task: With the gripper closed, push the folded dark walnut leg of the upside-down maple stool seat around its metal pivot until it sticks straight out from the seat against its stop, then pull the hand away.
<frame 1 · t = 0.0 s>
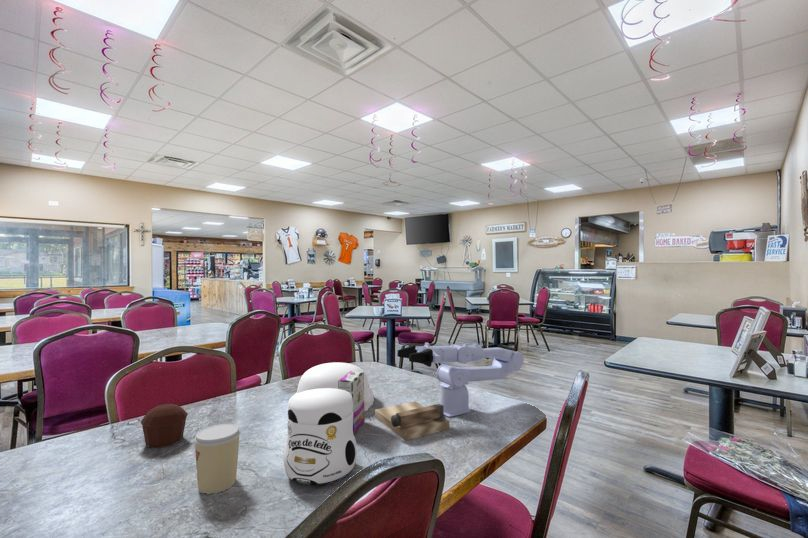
hand: (403, 355, 117), 22 cm above the table, tool horizontal, fingers open, 7 cm apart
dome cover: (333, 403, 136), on the table
stool seat: (410, 422, 117), on the table
muffin: (164, 441, 105), on the table
stool leg: (419, 415, 111), point 5 cm above the table, hinge at 0.0°
coffee cup: (217, 484, 83), on the table
doce de leite jar: (320, 473, 88), on the table
candy bar box: (351, 428, 113), on the table
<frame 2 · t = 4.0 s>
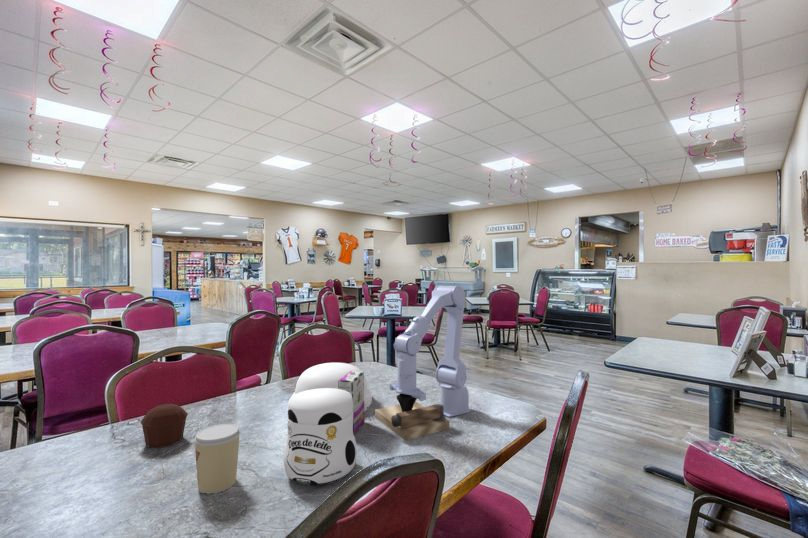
hand: (407, 418, 112), 4 cm above the table, tool pointing down, fingers closed
stool leg: (419, 415, 110), point 5 cm above the table, hinge at 0.8°, touching gripper
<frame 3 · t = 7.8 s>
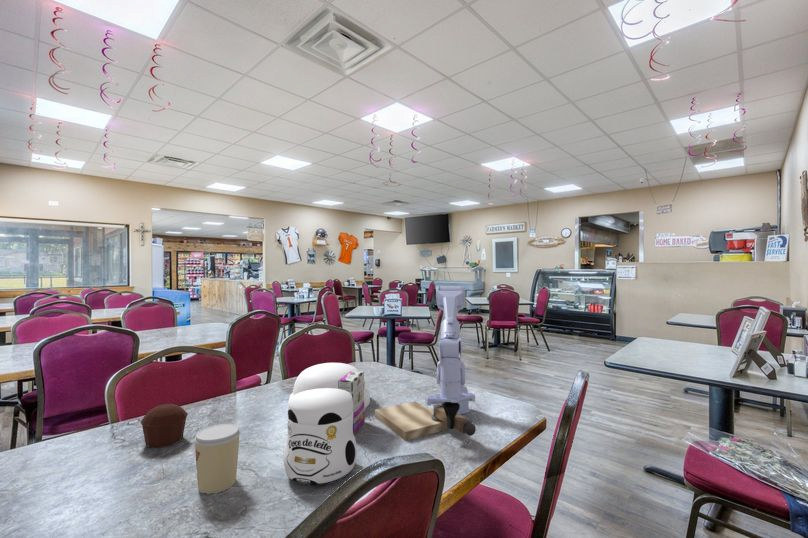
hand: (450, 427, 104), 4 cm above the table, tool pointing down, fingers closed, pressing on stool leg
stool leg: (452, 418, 108), point 5 cm above the table, hinge at 88.3°, touching gripper
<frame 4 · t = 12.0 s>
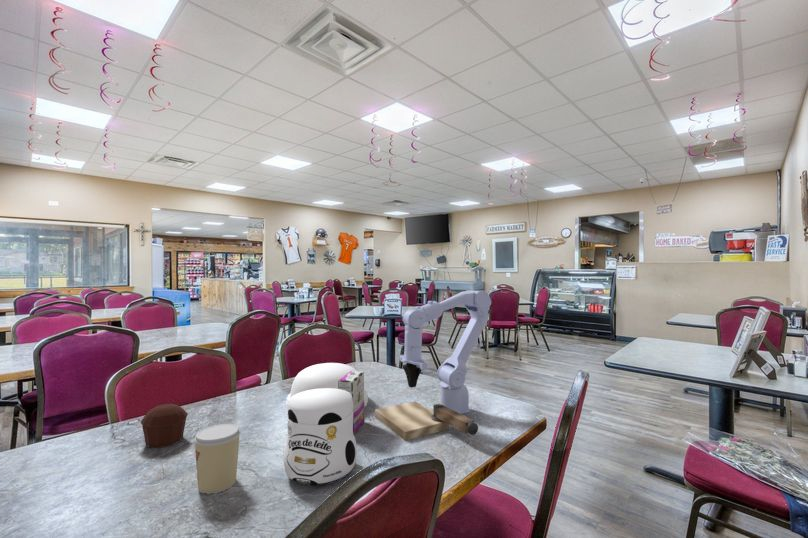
hand: (412, 386, 121), 10 cm above the table, tool pointing down, fingers closed
stool leg: (453, 418, 108), point 5 cm above the table, hinge at 91.7°
at the end: stool leg at +92° (first picture: +0°); candy bar box moved 0.2 cm from its start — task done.
